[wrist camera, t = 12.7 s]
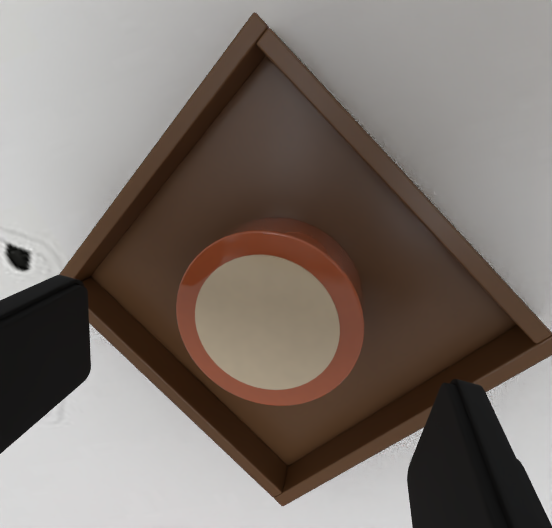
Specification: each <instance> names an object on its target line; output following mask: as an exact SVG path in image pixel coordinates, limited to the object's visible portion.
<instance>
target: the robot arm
mask: <svg viewBox="0 0 552 528" xmlns="http://www.w3.org/2000/svg"><path fill="white" fill-rule="evenodd" d="M90 370H91V360H90V334H89V308H88V291H87V289H86V288H85V287H84V284H83V282H82V281H80V280H78V279H74V278H71V277H67V276H63V275H57V276H54V277H52V278H50V279H47V280H45V281H43V282H41V283H38V284H36V285H34V286H32V287H29V288H27V289H25V290H23V291H21V292H18V293H16V294H14V295H12V296H9V297H7V298H5V299H3V300H0V454H1V453H2V452H3V451H4V450H5V449H6V448H8V447H9V446H10V445H11V444H12V443H13V442H14V441H16V440H17V439H18V438H19V437H20V436H21V435H23V434H24V433H25V432H26V431H27V430H28V429H29V428H31V427H32V426H33V425H34V424H35V423H36V422H38V421H39V420H40V419H41V418H42V417H43V416H45V415H46V414H47V413H48V412H49V411H50V410H51V409H53V408H54V407H55V406H56V405H57V404H58V403H60V402H61V401H62V400H63V399H64V398H65V397H67V396H68V395H69V394H70V393H71V392H72V391H73V390H75V389H76V388H77V387H78V386H79V385H80V384H82V383H83V382H84V381H85V380H86V378H87V377H88V375H89V373H90ZM407 483H408V492H409V500H410V508H411V517H412V525H413V528H552V525H551V523H550V521H549V519H548V517H547V515H546V513H545V511H544V509H543V507H542V505H541V502H540V500H539V498H538V496H537V494H536V492H535V490H534V488H533V486H532V484H531V481H530V479H529V477H528V475H527V473H526V471H525V469H524V467H523V466H522V464H521V462H520V461H519V460H518V459H516V457H515V455H514V452H513V450H512V448H511V446H510V444H509V442H508V440H507V437H506V435H505V433H504V431H503V429H502V427H501V425H500V423H499V420H498V418H497V416H496V414H495V412H494V410H493V408H492V405H491V403H490V401H489V399H488V397H487V395H486V393H485V390H484V389H483V387H482V386H480V385H478V384H474V383H470V382H466V381H462V380H458V379H453V380H452V381H451V382H450V384H449V383H445V382H444V383H443V384H442V385H441V387H440V389H439V391H438V394H437V397H436V399H435V402H434V404H433V407H432V409H431V412H430V414H429V417H428V419H427V422H426V424H425V427H424V429H423V432H422V434H421V437H420V439H419V442H418V445H417V447H416V450H415V452H414V455H413V457H412V460H411V462H410V465H409V468H408V475H407Z"/></svg>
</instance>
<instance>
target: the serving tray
mask: <svg viewBox="0 0 552 528" xmlns="http://www.w3.org/2000/svg"><path fill="white" fill-rule="evenodd" d="M272 217H280V218H290V219H294V220H298V221H302V222H305V223H307V224H310V225H312V226H314V227H316V228H318V229H320V230H322V231H323V232H325V233H326V234H328V235H329V236H331V237H332V238H333V239H334V240H335V241H336V242H337V243H338V244H340V245H341V247H342V248H343V249H344V250H345V251H346V252H347V254H348V255H349V257H350V258H351V260H352V261H353V263H354V265H355V267H356V269H357V271H358V273H359V276H360V280H361V283H362V288H363V294H364V340H363V346H362V349H361V352H360V356H359V358H358V360H357V362H356V364H355V366H354V368H353V369H352V371H351V372H350V373H349V375H348V376H347V377H346V378H345V379H344V380H343V382H342V383H341V384H340V385H338V386H337V387H336V388H335V389H333V390H332V391H331V392H329V393H327V394H326V395H324V396H322V397H320V398H318V399H315V400H313V401H310V402H306V403H303V404H298V405H291V406H272V405H264V404H259V403H255V402H251V401H248V400H245V399H243V398H240V397H238V396H235V395H233V394H232V393H230V392H228V391H226V390H224V389H223V388H222V387H220V386H219V385H217V384H216V383H214V382H213V381H212V380H211V379H210V378H209V377H208V376H206V375H205V373H204V372H203V371H202V370H201V369H200V368H199V367H198V366H197V364H196V363H195V362H194V360H193V359H192V358H191V356H190V354H189V352H188V351H187V349H186V347H185V345H184V342H183V340H182V338H181V335H180V331H179V328H178V322H177V315H176V302H177V294H178V290H179V285H180V282H181V280H182V277H183V275H184V273H185V271H186V270H187V268H188V266H189V264H190V263H191V262H192V261H193V259H194V258H195V257H196V256H197V255H198V254H199V253H200V252H201V251H202V250H203V249H204V248H206V247H207V246H209V245H210V244H212V243H213V242H215V241H216V240H218V239H219V238H221V237H222V236H224V235H225V234H227V233H228V232H230V231H231V230H233V229H234V228H236V227H238V226H240V225H242V224H244V223H246V222H250V221H253V220H256V219H262V218H272ZM59 275H63V276H67V277H71V278H74V279H78V280H80V281H82V282H83V284H84V287H85V288H86V289H87V291H88V308H89V323H90V324H91V325H92V326H93V327H94V328H95V329H96V330H97V331H98V332H99V333H100V334H101V335H102V336H104V337H105V338H106V339H107V340H108V341H109V342H110V343H111V344H112V345H113V346H114V347H115V348H116V349H117V350H118V351H119V352H120V353H121V354H122V355H124V356H125V357H126V358H127V359H128V360H129V361H130V362H131V363H132V364H133V365H134V366H135V367H136V368H137V369H138V370H139V371H140V372H141V373H143V374H144V375H145V376H146V377H147V378H148V379H149V380H150V381H151V382H152V383H153V384H154V385H155V386H156V387H157V388H158V389H159V390H160V391H161V392H163V393H164V394H165V395H166V396H167V397H168V398H169V399H170V400H171V401H172V402H173V403H174V404H175V405H176V406H177V407H178V408H179V409H180V410H181V411H183V412H184V413H185V414H186V415H187V416H188V417H189V418H190V419H191V420H192V421H193V422H194V423H195V424H196V425H197V426H198V427H199V428H200V429H202V430H203V431H204V432H205V433H206V434H207V435H208V436H209V437H210V438H211V439H212V440H213V441H214V442H215V443H216V444H217V445H218V446H219V447H220V448H222V449H223V450H224V451H225V452H226V453H227V454H228V455H229V456H230V457H231V458H232V459H233V460H234V461H235V462H236V463H237V464H238V465H239V466H241V467H242V468H243V469H244V470H245V471H246V472H247V473H248V474H249V475H250V476H251V477H252V478H253V479H254V480H255V481H256V482H257V483H258V484H259V485H261V486H262V487H263V488H264V489H265V490H266V491H267V492H268V493H269V494H270V495H271V496H272V497H274V499H275V500H276V501H277V502H278V503H279V504H280V505H281V506H285V505H286V504H288V503H290V502H292V501H293V500H295V499H297V498H299V497H300V496H302V495H304V494H306V493H308V492H309V491H311V490H313V489H315V488H316V487H318V486H320V485H322V484H324V483H325V482H327V481H329V480H331V479H332V478H334V477H336V476H338V475H340V474H341V473H343V472H345V471H347V470H348V469H350V468H352V467H354V466H356V465H357V464H359V463H361V462H363V461H364V460H366V459H368V458H370V457H372V456H373V455H375V454H377V453H379V452H380V451H382V450H384V449H386V448H388V447H389V446H391V445H393V444H395V443H396V442H398V441H400V440H402V439H404V438H405V437H407V436H409V435H411V434H412V433H414V432H416V431H418V430H420V429H421V428H423V427H425V424H426V422H427V419H428V417H429V414H430V412H431V409H432V407H433V404H434V402H435V399H436V397H437V394H438V391H439V389H440V387H441V385H442V384H443V383H444V382H445V383H449V384H450V382H451V381H452V380H453V379H458V380H462V381H466V382H470V383H474V384H478V385H480V386H482V387H483V389H484V390H485V392H487V391H489V390H491V389H492V388H494V387H496V386H498V385H499V384H501V383H503V382H505V381H507V380H508V379H510V378H512V377H514V376H515V375H517V374H519V373H521V372H523V371H524V370H526V369H528V368H530V367H531V366H533V365H535V364H537V363H539V362H540V361H542V360H544V359H546V358H547V357H549V356H551V355H552V332H551V331H550V330H549V329H548V328H547V327H546V326H545V325H544V324H543V323H542V321H541V320H540V319H539V318H538V317H537V316H536V315H535V314H534V313H533V312H532V311H531V310H530V309H529V307H528V306H527V305H526V304H525V303H524V302H523V301H522V300H521V299H520V298H519V297H518V296H517V294H516V293H515V292H514V291H513V290H512V289H511V288H510V287H509V286H508V285H507V284H506V283H505V281H504V280H503V279H502V278H501V277H500V276H499V275H498V274H497V273H496V272H495V271H494V270H493V268H492V267H491V266H490V265H489V264H488V263H487V262H486V261H485V260H484V259H483V258H482V257H481V256H480V254H479V253H478V252H477V251H476V250H475V249H474V248H473V247H472V246H471V245H470V244H469V243H468V241H467V240H466V239H465V238H464V237H463V236H462V235H461V234H460V233H459V232H458V231H457V230H456V228H455V227H454V226H453V225H452V224H451V223H450V222H449V221H448V220H447V219H446V218H445V217H444V215H443V214H442V213H441V212H440V211H439V210H438V209H437V208H436V207H435V206H434V205H433V204H432V203H431V201H430V200H429V199H428V198H427V197H426V196H425V195H424V194H423V193H422V192H421V191H420V190H419V188H418V187H417V186H416V185H415V184H414V183H413V182H412V181H411V180H410V179H409V178H408V177H407V175H406V174H405V173H404V172H403V171H402V170H401V169H400V168H399V167H398V166H397V165H396V164H395V162H394V161H393V160H392V159H391V158H390V157H389V156H388V155H387V154H386V153H385V152H384V151H383V150H382V148H381V147H380V146H379V145H378V144H377V143H376V142H375V141H374V140H373V139H372V138H371V137H370V135H369V134H368V133H367V132H366V131H365V130H364V129H363V128H362V127H361V126H360V125H359V124H358V122H357V121H356V120H355V119H354V118H353V117H352V116H351V115H350V114H349V113H348V112H347V111H346V109H345V108H344V107H343V106H342V105H341V104H340V103H339V102H338V101H337V100H336V99H335V98H334V97H333V95H332V94H331V93H330V92H329V91H328V90H327V89H326V88H325V87H324V86H323V85H322V84H321V82H320V81H319V80H318V79H317V78H316V77H315V76H314V75H313V74H312V73H311V72H310V71H309V69H308V68H307V67H306V66H305V65H304V64H303V63H302V62H301V61H300V60H299V59H298V58H297V56H296V55H295V54H294V53H293V52H292V51H291V50H290V49H289V48H288V47H287V46H286V45H285V44H284V42H283V41H282V40H281V39H280V38H279V37H278V36H277V35H276V34H275V33H274V32H273V31H272V29H270V28H269V26H268V25H267V24H266V23H265V22H264V21H263V20H262V19H261V18H260V16H259V15H258V14H257V13H255V12H254V13H253V14H252V15H251V17H250V18H249V19H248V21H247V22H246V23H245V25H244V26H243V28H242V29H241V30H240V32H239V33H238V34H237V36H236V37H235V38H234V40H233V41H232V42H231V44H230V45H229V46H228V48H227V49H226V50H225V52H224V53H223V55H222V56H221V57H220V59H219V60H218V61H217V63H216V64H215V65H214V67H213V68H212V69H211V71H210V72H209V73H208V75H207V76H206V77H205V79H204V80H203V81H202V83H201V84H200V86H199V87H198V88H197V90H196V91H195V92H194V94H193V95H192V96H191V98H190V99H189V100H188V102H187V103H186V104H185V106H184V107H183V108H182V110H181V111H180V113H179V114H178V115H177V117H176V118H175V119H174V121H173V122H172V123H171V125H170V126H169V127H168V129H167V130H166V131H165V133H164V134H163V135H162V137H161V138H160V139H159V141H158V142H157V144H156V145H155V146H154V148H153V149H152V150H151V152H150V153H149V154H148V156H147V157H146V158H145V160H144V161H143V162H142V164H141V165H140V166H139V168H138V169H137V170H136V172H135V173H134V175H133V176H132V177H131V179H130V180H129V181H128V183H127V184H126V185H125V187H124V188H123V189H122V191H121V192H120V193H119V195H118V196H117V197H116V199H115V200H114V202H113V203H112V204H111V206H110V207H109V208H108V210H107V211H106V212H105V214H104V215H103V216H102V218H101V219H100V220H99V222H98V223H97V224H96V226H95V227H94V228H93V230H92V231H91V233H90V234H89V235H88V237H87V238H86V239H85V241H84V242H83V243H82V245H81V246H80V247H79V249H78V250H77V251H76V253H75V254H74V255H73V257H72V258H71V260H70V261H69V262H68V264H67V265H66V266H65V268H64V269H63V270H62V272H61V273H60V274H59Z"/></svg>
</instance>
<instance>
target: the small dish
mask: <svg viewBox="0 0 552 528" xmlns="http://www.w3.org/2000/svg"><path fill="white" fill-rule="evenodd" d="M176 315H177V322H178V328H179V331H180V335H181V338H182V340H183V342H184V345H185V347H186V349H187V351H188V352H189V354H190V356H191V358H192V359H193V360H194V362H195V363H196V364H197V366H198V367H199V368H200V369H201V370H202V371H203V372H204V373H205V375H206V376H208V377H209V378H210V379H211V380H212V381H213V382H214V383H216V384H217V385H219V386H220V387H222V388H223V389H224V390H226V391H228V392H230V393H232V394H233V395H235V396H238V397H240V398H243V399H245V400H248V401H251V402H255V403H259V404H264V405H272V406H291V405H298V404H303V403H306V402H310V401H313V400H315V399H318V398H320V397H322V396H324V395H326V394H327V393H329V392H331V391H332V390H333V389H335V388H336V387H337V386H338V385H340V384H341V383H342V382H343V380H344V379H345V378H346V377H347V376H348V375H349V373H350V372H351V371H352V369H353V368H354V366H355V364H356V362H357V360H358V358H359V356H360V352H361V349H362V346H363V340H364V294H363V288H362V283H361V280H360V276H359V273H358V271H357V269H356V267H355V265H354V263H353V261H352V260H351V258H350V257H349V255H348V254H347V252H346V251H345V250H344V249H343V248H342V247H341V245H340V244H338V243H337V242H336V241H335V240H334V239H333V238H332V237H331V236H329V235H328V234H326V233H325V232H323V231H322V230H320V229H318V228H316V227H314V226H312V225H310V224H307V223H305V222H302V221H298V220H294V219H290V218H280V217H272V218H262V219H256V220H253V221H250V222H246V223H244V224H242V225H240V226H238V227H236V228H234V229H233V230H231V231H230V232H228V233H227V234H225V235H224V236H222V237H221V238H219V239H218V240H216V241H215V242H213V243H212V244H210V245H209V246H207V247H206V248H204V249H203V250H202V251H201V252H200V253H199V254H198V255H197V256H196V257H195V258H194V259H193V261H192V262H191V263H190V264H189V266H188V268H187V270H186V271H185V273H184V275H183V277H182V280H181V282H180V285H179V290H178V294H177V302H176Z"/></svg>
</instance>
